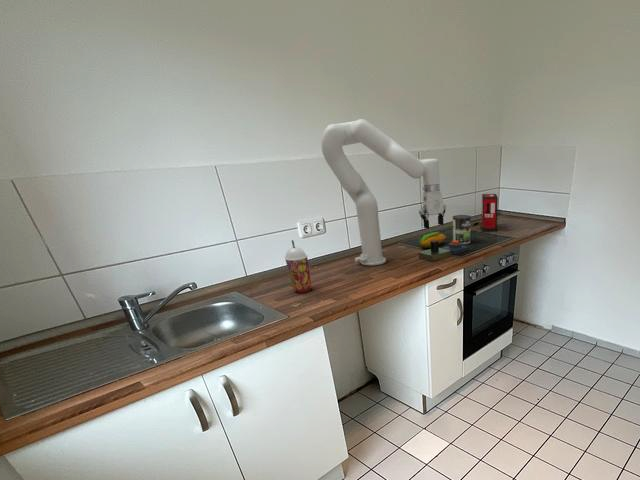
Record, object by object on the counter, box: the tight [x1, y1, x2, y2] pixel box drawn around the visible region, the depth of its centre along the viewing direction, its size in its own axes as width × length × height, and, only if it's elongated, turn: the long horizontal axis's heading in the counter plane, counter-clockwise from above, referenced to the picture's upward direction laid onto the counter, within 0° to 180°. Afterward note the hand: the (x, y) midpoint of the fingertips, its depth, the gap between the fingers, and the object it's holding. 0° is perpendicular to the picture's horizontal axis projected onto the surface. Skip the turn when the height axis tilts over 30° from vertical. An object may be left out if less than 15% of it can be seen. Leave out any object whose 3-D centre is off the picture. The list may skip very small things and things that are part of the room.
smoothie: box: [284, 239, 312, 293], centre depth 152 cm, size 8×8×20 cm
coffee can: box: [452, 214, 472, 245], centre depth 218 cm, size 10×10×14 cm
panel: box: [418, 247, 452, 263], centre depth 194 cm, size 13×10×3 cm
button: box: [451, 239, 459, 245], centre depth 202 cm, size 4×4×2 cm
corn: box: [419, 231, 447, 249], centre depth 213 cm, size 7×8×20 cm
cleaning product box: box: [481, 193, 499, 232], centre depth 246 cm, size 16×9×20 cm, turn 178°
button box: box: [442, 242, 469, 256], centre depth 203 cm, size 11×9×4 cm
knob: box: [430, 240, 440, 252], centre depth 192 cm, size 4×4×5 cm
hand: (433, 226), depth 188 cm, fingers open, 9 cm apart
